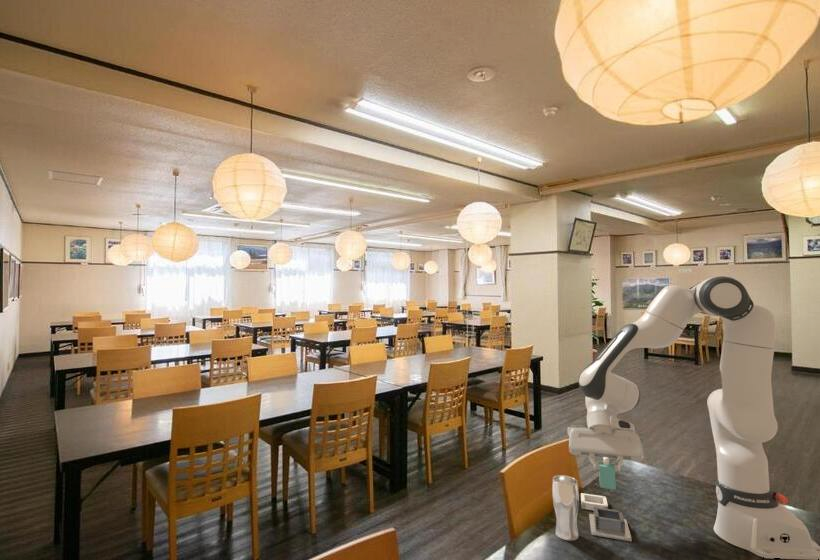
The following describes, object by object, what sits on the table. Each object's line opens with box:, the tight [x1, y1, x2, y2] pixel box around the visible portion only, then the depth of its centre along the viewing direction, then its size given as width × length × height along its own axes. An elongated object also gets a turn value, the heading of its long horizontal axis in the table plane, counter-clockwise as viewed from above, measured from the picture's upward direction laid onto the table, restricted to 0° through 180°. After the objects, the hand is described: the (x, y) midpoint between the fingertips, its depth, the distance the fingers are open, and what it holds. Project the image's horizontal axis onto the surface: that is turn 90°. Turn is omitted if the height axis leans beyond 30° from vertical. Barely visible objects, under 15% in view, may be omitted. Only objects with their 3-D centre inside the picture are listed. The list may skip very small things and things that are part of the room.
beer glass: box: [551, 474, 580, 542], centre depth 115 cm, size 7×7×15 cm
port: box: [588, 507, 632, 543], centre depth 117 cm, size 10×10×4 cm
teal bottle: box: [598, 457, 617, 490], centre depth 118 cm, size 4×3×8 cm
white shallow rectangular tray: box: [580, 492, 609, 512], centre depth 130 cm, size 8×6×2 cm
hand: (607, 471), depth 117 cm, fingers closed on teal bottle, 4 cm apart
